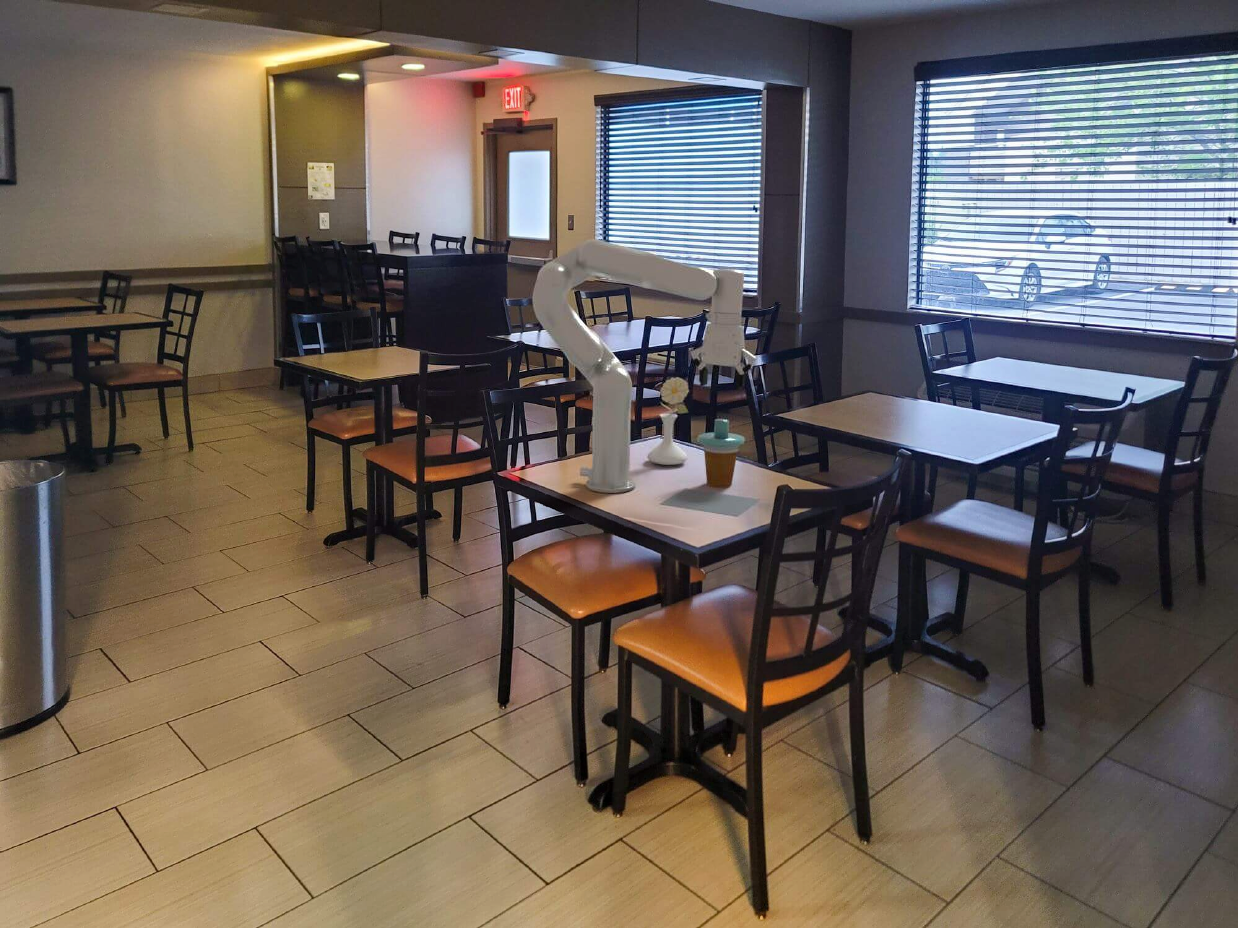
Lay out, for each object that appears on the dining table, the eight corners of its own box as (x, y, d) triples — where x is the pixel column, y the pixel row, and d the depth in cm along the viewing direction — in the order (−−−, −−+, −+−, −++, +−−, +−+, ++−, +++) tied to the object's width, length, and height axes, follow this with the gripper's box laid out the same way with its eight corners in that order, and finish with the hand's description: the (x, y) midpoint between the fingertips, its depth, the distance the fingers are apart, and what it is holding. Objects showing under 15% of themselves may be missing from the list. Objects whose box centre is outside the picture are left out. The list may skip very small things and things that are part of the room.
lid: (690, 443, 252) (691, 422, 251) (707, 434, 263) (708, 413, 261) (735, 448, 247) (736, 427, 246) (750, 439, 258) (751, 418, 256)
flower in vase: (638, 462, 281) (640, 374, 275) (667, 456, 288) (669, 371, 282) (671, 471, 272) (674, 381, 265) (699, 465, 279) (703, 377, 273)
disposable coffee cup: (735, 492, 252) (738, 446, 250) (698, 489, 254) (700, 444, 251) (739, 482, 262) (741, 438, 259) (703, 480, 263) (704, 436, 260)
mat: (659, 505, 240) (659, 503, 240) (685, 490, 254) (685, 488, 253) (737, 518, 231) (737, 516, 231) (760, 501, 245) (760, 499, 245)
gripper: (687, 317, 248) (684, 385, 252) (753, 323, 240) (748, 393, 244) (699, 315, 254) (695, 381, 258) (763, 321, 247) (758, 389, 251)
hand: (721, 387), depth 251 cm, fingers open, 9 cm apart
